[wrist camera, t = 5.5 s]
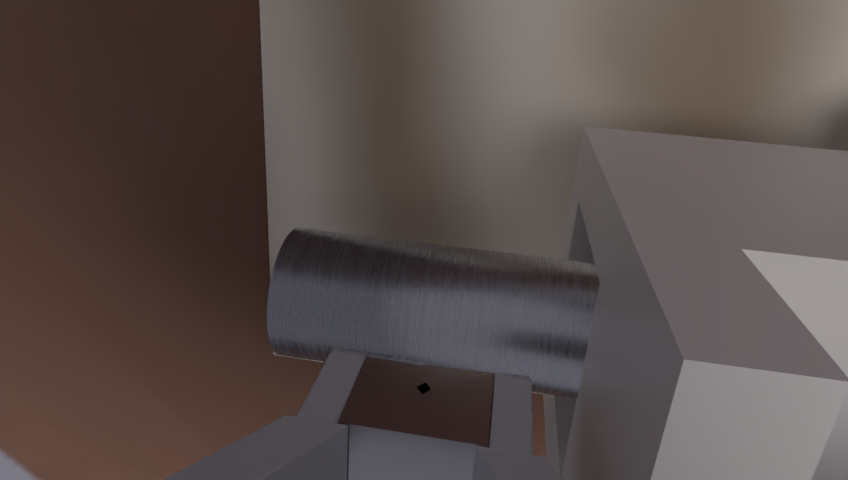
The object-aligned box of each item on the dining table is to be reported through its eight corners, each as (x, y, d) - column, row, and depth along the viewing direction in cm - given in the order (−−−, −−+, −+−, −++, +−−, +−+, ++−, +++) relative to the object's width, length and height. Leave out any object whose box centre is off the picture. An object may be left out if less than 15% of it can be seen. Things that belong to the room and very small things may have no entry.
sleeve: (541, 370, 15) (562, 796, 7) (583, 125, 12) (683, 359, 5) (803, 407, 14) (1146, 923, 6) (899, 156, 12) (1637, 488, 4)
